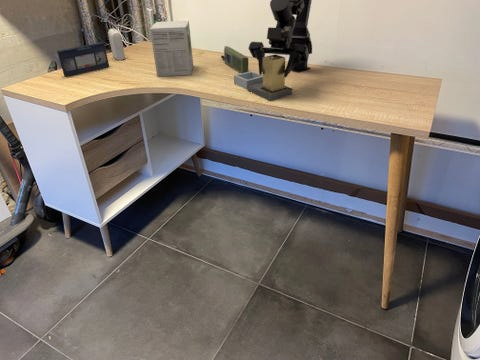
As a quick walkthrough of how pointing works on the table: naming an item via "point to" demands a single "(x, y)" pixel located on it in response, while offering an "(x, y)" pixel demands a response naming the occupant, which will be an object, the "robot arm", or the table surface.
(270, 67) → the brass tower with button
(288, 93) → the grey holder tray
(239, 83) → the parts tray
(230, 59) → the handheld radio
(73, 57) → the vhs cassette tape
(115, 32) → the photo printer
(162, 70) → the supplement box
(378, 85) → the table surface
